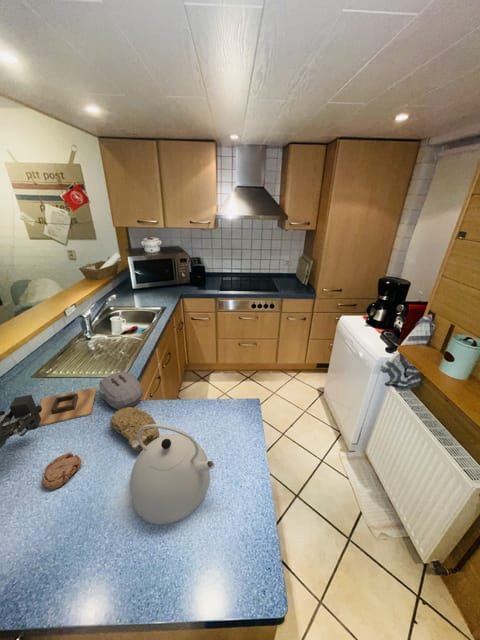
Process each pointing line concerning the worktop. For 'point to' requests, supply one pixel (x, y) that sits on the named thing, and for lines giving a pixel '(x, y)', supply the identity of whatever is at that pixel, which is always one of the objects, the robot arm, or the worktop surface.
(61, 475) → the cookie
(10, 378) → the worktop surface
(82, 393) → the base pad
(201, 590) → the worktop surface
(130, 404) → the grey rounded bag
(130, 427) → the sponge
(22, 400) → the black block
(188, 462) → the kettle
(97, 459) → the worktop surface
